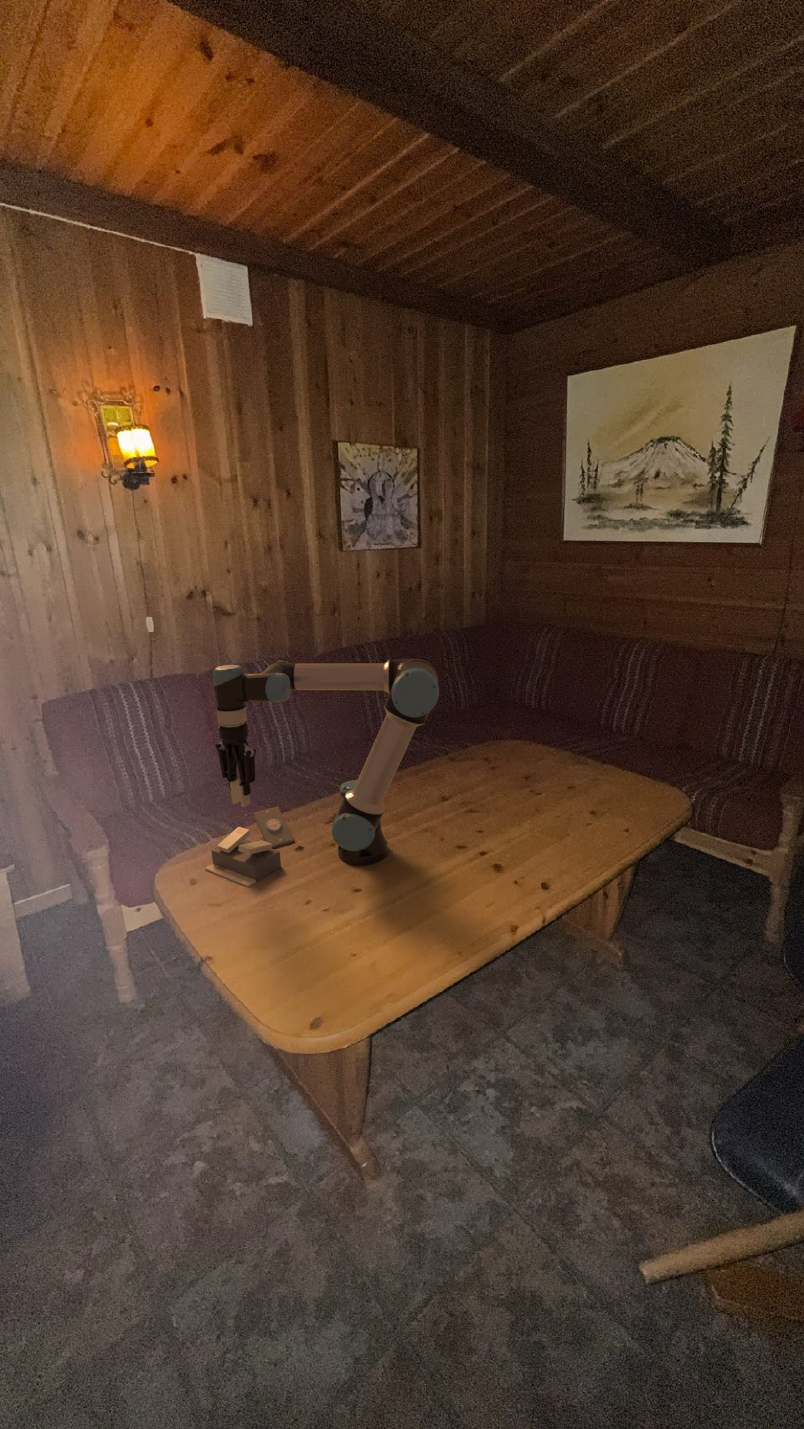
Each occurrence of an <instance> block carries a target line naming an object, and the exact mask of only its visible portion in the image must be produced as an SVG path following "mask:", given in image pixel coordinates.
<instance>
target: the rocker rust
mask: <svg viewBox="0 0 804 1429" xmlns="http://www.w3.org/2000/svg"><path fill="white" fill-rule="evenodd" d="M250 835H251V832H250V830H249V829H247V828H244V827H241V826H237V827H236V828H235V829H234V830H233V831H232V832H231V833H229V834H228V835H227V836H226V837H225V838H224V839H223V840H221V842H219V843H218V844H217V845H216V847H218V849H219V850H221V851H224V852H227V853H230V852H231V851H232V850H233V849H234V848H236V847H237V846H238V845H239V844H240V843H241V842H242V841H243V840H244V839H246V840H247V838H248V837H249V836H250Z"/></svg>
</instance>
